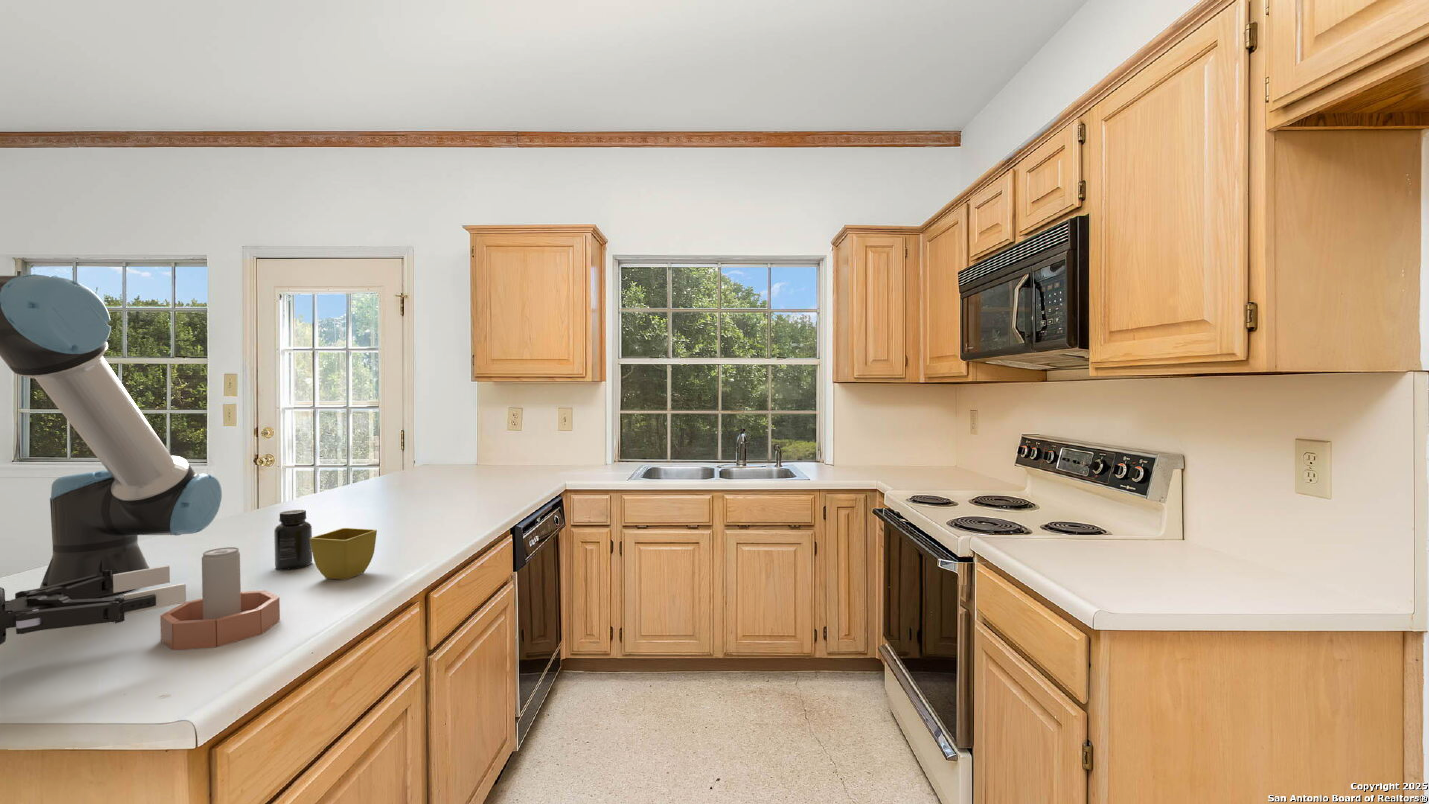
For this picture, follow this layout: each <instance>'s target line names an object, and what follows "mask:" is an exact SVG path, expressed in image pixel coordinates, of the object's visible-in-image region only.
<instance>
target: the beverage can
mask: <svg viewBox="0 0 1429 804" xmlns="http://www.w3.org/2000/svg"><path fill="white" fill-rule="evenodd" d="M239 550H240V548H239V547H235V546H234V547H233V546H231V547H229V546H227V547H219V548H213V549H208V550H206V551H204V552H202V556H201V583H202V584H201V585H202V586H201V587H202V591H201V592H202V595H201V596H202V598H203V620H205V619H218V618H222V617H226V616H230V615H234V614H238V613H241V592H242V589H241V585H242V583H241V553H240V551H239Z"/></svg>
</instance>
